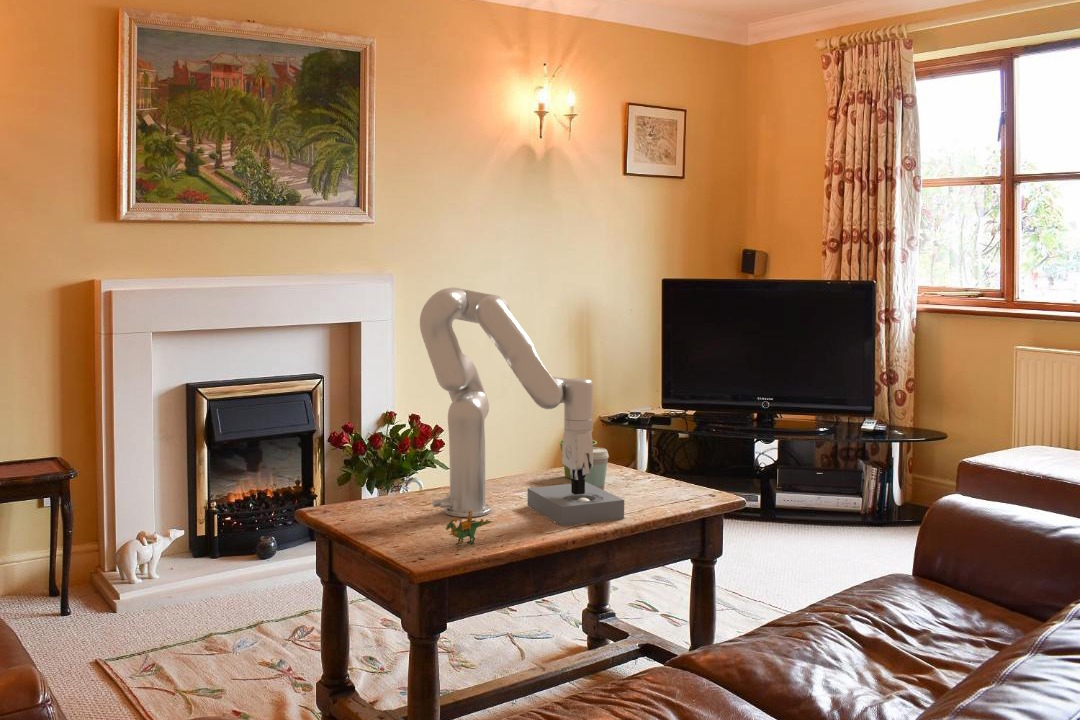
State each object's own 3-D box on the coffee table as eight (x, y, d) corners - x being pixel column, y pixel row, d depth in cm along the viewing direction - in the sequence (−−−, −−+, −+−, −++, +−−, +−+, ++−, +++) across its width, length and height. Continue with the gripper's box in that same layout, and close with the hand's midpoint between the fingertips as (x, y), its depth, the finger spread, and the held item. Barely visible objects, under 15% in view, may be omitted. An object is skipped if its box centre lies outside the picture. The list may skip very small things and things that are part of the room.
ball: (567, 511, 265) (581, 521, 267) (578, 509, 261) (592, 519, 263) (574, 495, 268) (587, 504, 270) (585, 493, 264) (599, 503, 266)
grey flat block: (561, 526, 256) (561, 506, 256) (527, 506, 276) (527, 488, 276) (624, 518, 264) (624, 499, 263) (586, 499, 284) (586, 482, 283)
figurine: (443, 545, 240) (443, 512, 239) (489, 539, 245) (489, 506, 244) (448, 549, 237) (448, 515, 236) (494, 542, 242) (494, 509, 242)
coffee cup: (609, 487, 299) (609, 447, 297) (608, 494, 290) (608, 453, 289) (580, 486, 299) (580, 446, 298) (578, 493, 291) (578, 452, 290)
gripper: (553, 421, 271) (553, 488, 273) (578, 430, 257) (577, 501, 259) (578, 419, 274) (578, 486, 276) (604, 428, 260) (603, 498, 262)
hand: (578, 493), depth 268 cm, fingers closed
